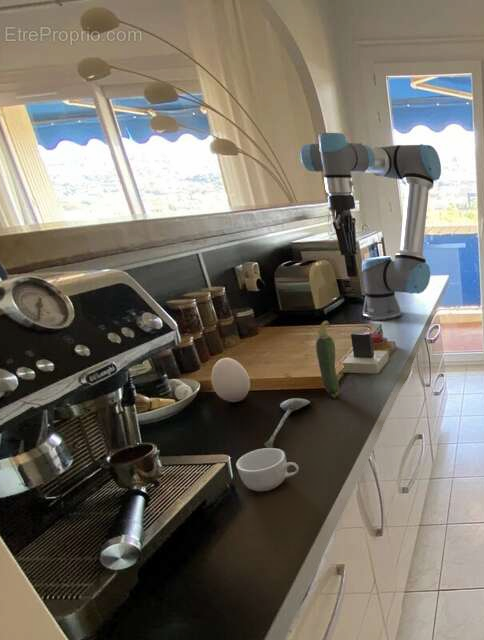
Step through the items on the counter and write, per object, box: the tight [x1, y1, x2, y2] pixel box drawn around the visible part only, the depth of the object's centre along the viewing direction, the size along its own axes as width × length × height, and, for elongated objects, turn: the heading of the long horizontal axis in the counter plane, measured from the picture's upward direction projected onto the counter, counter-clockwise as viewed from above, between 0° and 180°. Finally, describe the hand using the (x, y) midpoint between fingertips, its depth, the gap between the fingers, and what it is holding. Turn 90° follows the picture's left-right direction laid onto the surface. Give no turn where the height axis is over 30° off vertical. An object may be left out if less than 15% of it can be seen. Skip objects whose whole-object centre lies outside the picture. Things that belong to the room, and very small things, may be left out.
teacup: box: [235, 447, 300, 492], centre depth 80 cm, size 10×8×5 cm
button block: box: [373, 336, 397, 357], centre depth 144 cm, size 10×9×4 cm
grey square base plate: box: [339, 351, 390, 374], centre depth 133 cm, size 11×11×3 cm
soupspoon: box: [263, 397, 311, 448], centre depth 101 cm, size 22×3×7 cm
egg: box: [210, 357, 251, 403], centre depth 109 cm, size 8×8×11 cm
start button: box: [372, 333, 384, 343], centre depth 142 cm, size 4×4×2 cm
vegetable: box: [315, 320, 340, 399], centre depth 111 cm, size 4×4×20 cm
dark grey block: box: [350, 331, 374, 358], centre depth 131 cm, size 6×2×7 cm, turn 85°
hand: (352, 276), depth 141 cm, fingers closed
